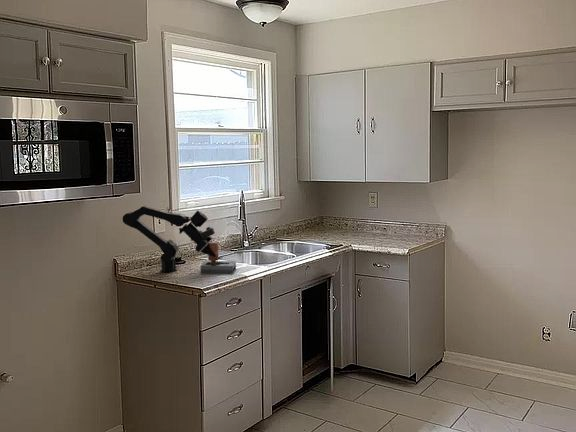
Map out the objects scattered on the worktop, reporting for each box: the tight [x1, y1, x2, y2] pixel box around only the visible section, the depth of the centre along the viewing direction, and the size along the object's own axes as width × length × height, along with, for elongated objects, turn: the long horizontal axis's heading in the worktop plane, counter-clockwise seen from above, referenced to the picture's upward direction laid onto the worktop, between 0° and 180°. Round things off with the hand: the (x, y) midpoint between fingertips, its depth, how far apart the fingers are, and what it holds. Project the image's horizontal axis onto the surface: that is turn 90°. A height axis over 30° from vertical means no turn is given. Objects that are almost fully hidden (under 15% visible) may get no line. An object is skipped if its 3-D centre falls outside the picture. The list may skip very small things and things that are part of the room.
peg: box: [207, 241, 219, 265], centre depth 305 cm, size 5×5×13 cm
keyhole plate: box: [199, 260, 237, 275], centre depth 305 cm, size 16×13×4 cm
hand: (216, 255), depth 305 cm, fingers closed on peg, 5 cm apart
